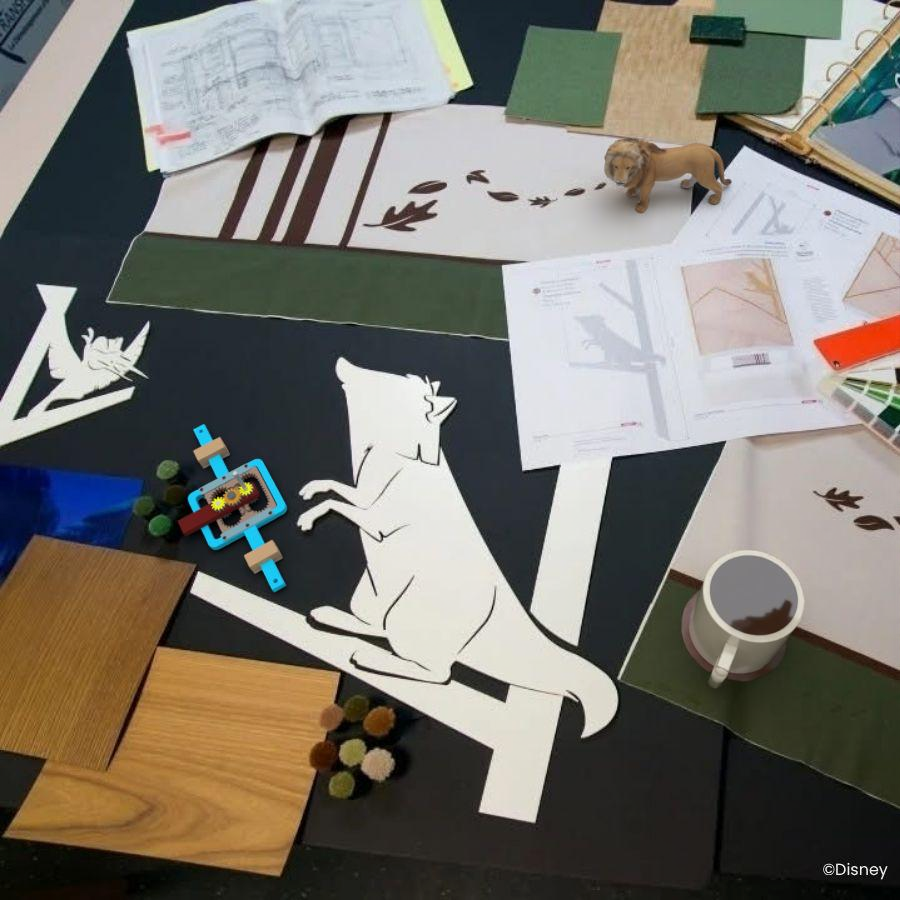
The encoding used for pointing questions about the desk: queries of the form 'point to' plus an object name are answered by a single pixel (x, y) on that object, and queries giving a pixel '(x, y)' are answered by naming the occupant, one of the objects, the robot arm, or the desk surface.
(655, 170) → the lion figurine
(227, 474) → the gear mechanism
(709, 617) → the mug
